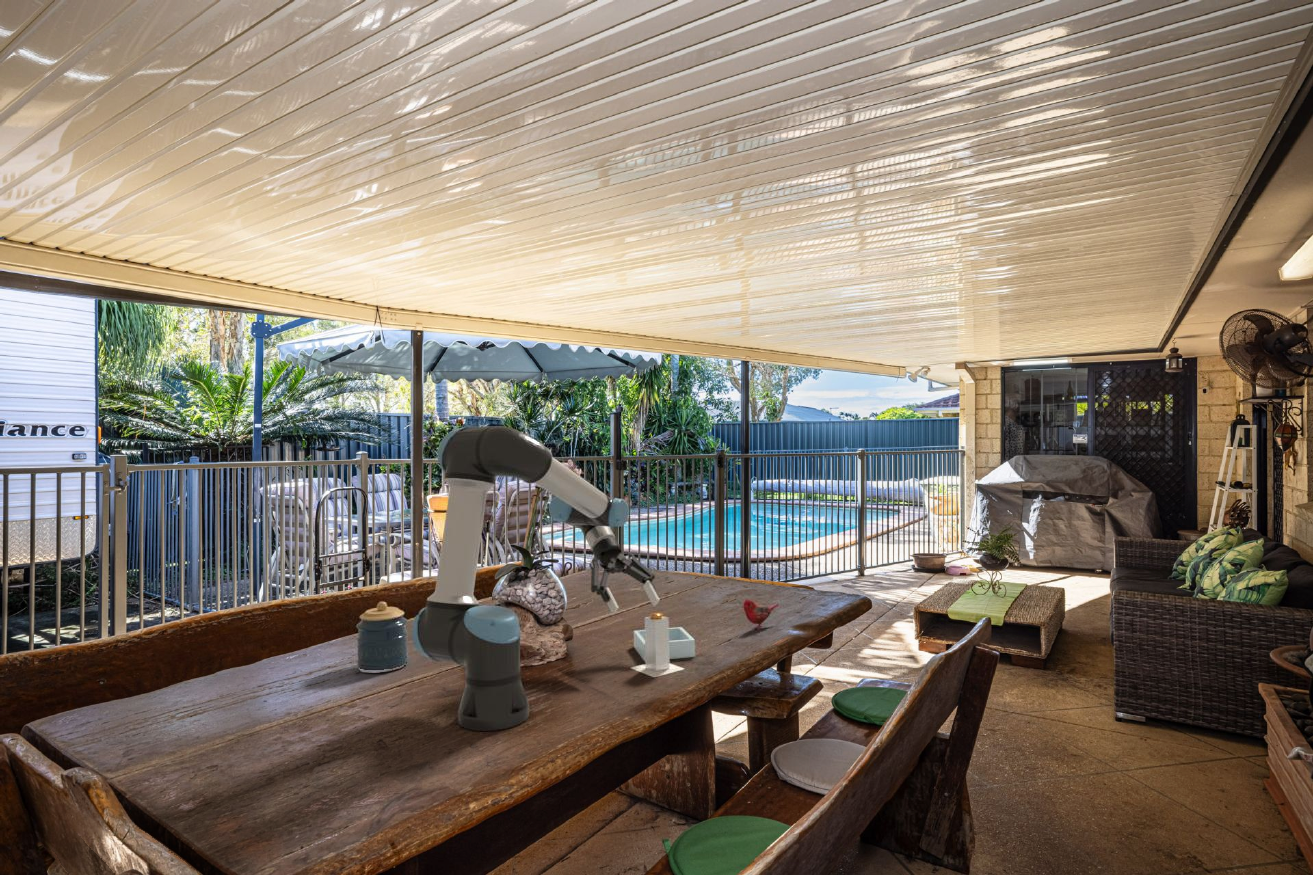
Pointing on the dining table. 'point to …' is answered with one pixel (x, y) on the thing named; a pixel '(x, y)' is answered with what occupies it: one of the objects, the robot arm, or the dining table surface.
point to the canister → (382, 638)
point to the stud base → (655, 674)
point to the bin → (678, 643)
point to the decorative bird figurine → (757, 612)
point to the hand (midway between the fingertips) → (636, 606)
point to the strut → (657, 642)
